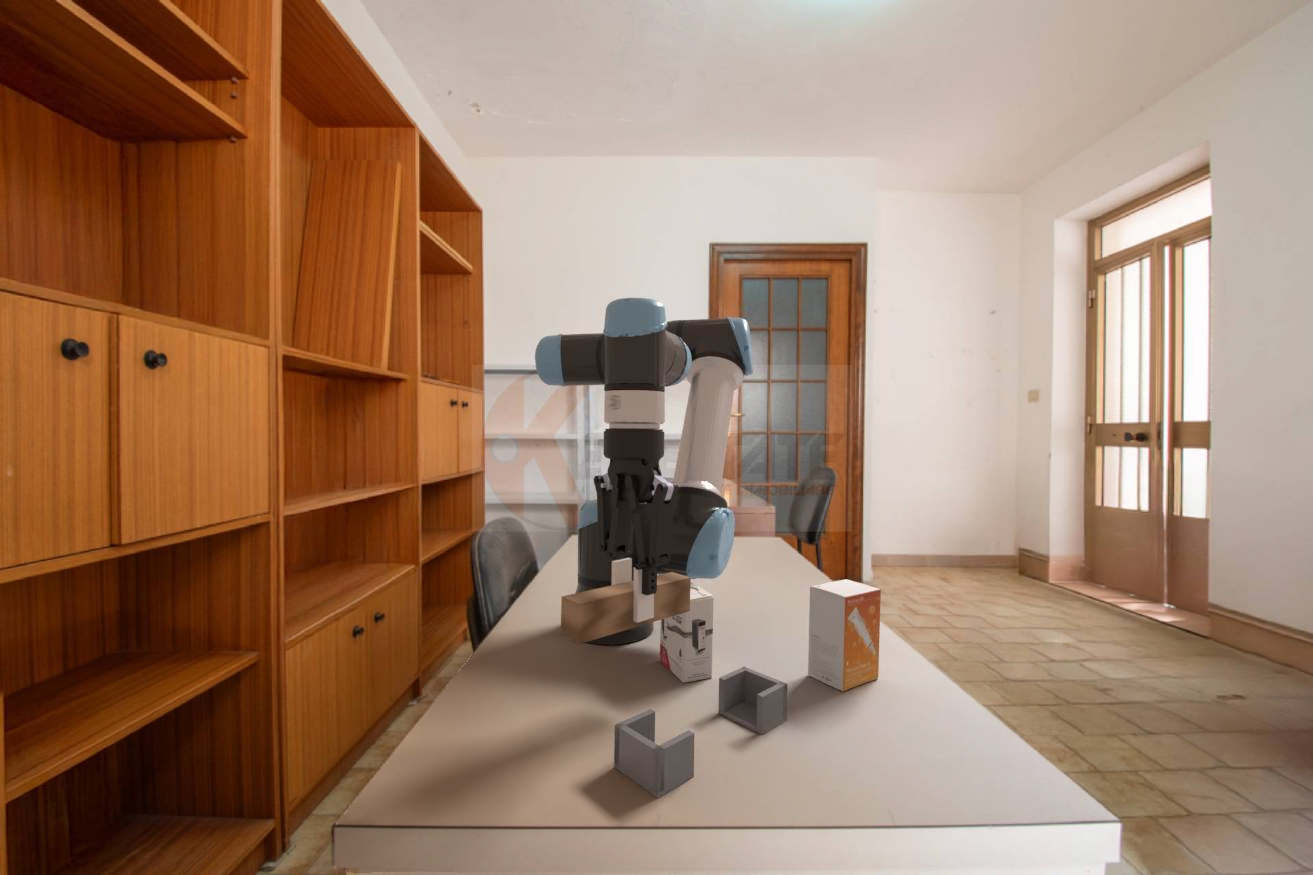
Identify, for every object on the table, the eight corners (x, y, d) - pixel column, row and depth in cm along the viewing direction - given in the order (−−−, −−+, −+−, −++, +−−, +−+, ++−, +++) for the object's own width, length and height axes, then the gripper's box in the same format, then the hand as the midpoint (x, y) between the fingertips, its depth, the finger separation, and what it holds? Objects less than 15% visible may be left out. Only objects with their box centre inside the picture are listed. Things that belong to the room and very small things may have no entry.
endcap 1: (614, 766, 58) (614, 724, 58) (649, 748, 61) (650, 708, 61) (657, 797, 53) (658, 752, 53) (693, 776, 56) (694, 733, 56)
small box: (843, 693, 75) (845, 596, 75) (806, 675, 80) (808, 585, 80) (880, 679, 80) (882, 588, 79) (843, 663, 85) (844, 577, 85)
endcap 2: (718, 712, 69) (719, 677, 69) (743, 700, 73) (744, 666, 73) (762, 734, 64) (762, 696, 64) (786, 719, 68) (787, 683, 68)
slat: (578, 644, 62) (579, 603, 62) (560, 635, 64) (561, 596, 64) (689, 610, 74) (690, 577, 74) (671, 604, 77) (671, 572, 77)
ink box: (657, 660, 85) (659, 583, 85) (686, 655, 87) (687, 580, 87) (682, 684, 77) (684, 599, 77) (713, 678, 79) (715, 595, 79)
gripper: (570, 425, 73) (569, 605, 73) (658, 427, 60) (655, 641, 61) (615, 426, 78) (613, 593, 78) (704, 427, 66) (702, 625, 66)
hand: (632, 614), depth 70 cm, fingers closed on slat, 3 cm apart
